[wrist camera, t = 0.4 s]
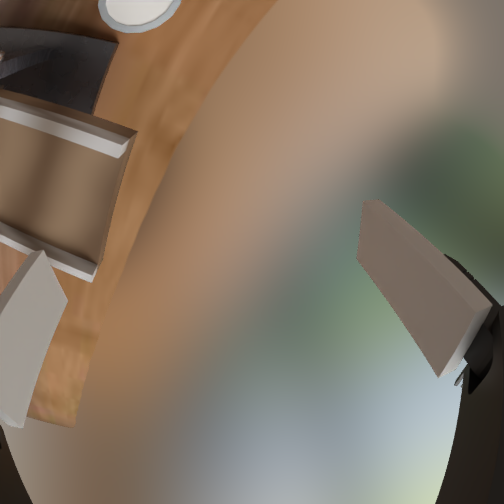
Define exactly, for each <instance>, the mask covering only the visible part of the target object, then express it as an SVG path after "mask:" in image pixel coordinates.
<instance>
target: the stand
mask: <svg viewBox="0 0 504 504" xmlns="http://www.w3.org/2000/svg"><path fill="white" fill-rule="evenodd" d="M118 45H119V43H117V42H113V41H109V40H104V39H99V38H95V37H90V36H84V35H79V34H73V33H67V32H60V31H52V30H44V29H34V28H21V27H0V84H2V85H4V88H3V89H4V90H8V91H12V92H16V93H20V94H23V95H27V96H31V97H34V98H38V99H41V100H45V101H48V102H52V103H55V104H58V105H62V106H65V107H68V108H71V109H75V110H78V111H81V112H84V113H87V114H90V115H93V114H94V111H95V107H96V104H97V101H98V98H99V95H100V92H101V89H102V86H103V83H104V80H105V78H106V75H107V72H108V70H109V67H110V64H111V62H112V59H113V57H114V54H115V52H116V50H117V47H118Z"/></svg>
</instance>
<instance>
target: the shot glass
mask: <svg viewBox="0 0 504 504" xmlns="http://www.w3.org/2000/svg"><path fill="white" fill-rule="evenodd" d="M180 4H181V0H99V4H98V8H99V11H100V14H101V17H102V19H103V20H104V21H105V22H106V23H107V24H108V25H109V26H110V27H111V28H112V29H115V30H118V31H121V32H124V33H142V32H145V31H147V30H150V29H153V28H156V27H158V26H160V25H161V24H162V23H164V22H165V21H166V20H168V19H169V18H170V17H172V15H173V14H174V12H175V11H176V9H177V8H178V6H179V5H180Z"/></svg>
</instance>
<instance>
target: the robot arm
mask: <svg viewBox="0 0 504 504" xmlns="http://www.w3.org/2000/svg"><path fill="white" fill-rule="evenodd" d="M357 260H358V262H359V263H360V264H361V265H362V267H363V268H364V270H365V271H366V272H367V274H368V275H369V276H370V278H371V279H372V280H373V282H374V283H375V284H376V286H377V287H378V288H379V290H380V291H381V293H382V294H383V295H384V297H385V298H386V299H387V301H388V302H389V304H390V305H391V307H392V308H393V309H394V311H395V312H396V314H397V315H398V317H399V318H400V320H401V321H402V323H403V324H404V325H405V327H406V328H407V330H408V331H409V333H410V334H411V336H412V337H413V339H414V340H415V342H416V343H417V345H418V346H419V348H420V349H421V351H422V353H423V354H424V356H425V357H426V359H427V361H428V362H429V364H430V365H431V367H432V369H433V370H434V372H435V374H436V375H437V377H438V378H439V377H441V376H443V375H446V374H448V373H450V372H452V371H454V370H455V369H456V368H457V366H458V365H459V363H460V362H461V360H462V359H463V357H464V359H465V360H466V361H467V363H468V364H467V365H466V367H465V368H464V370H463V371H462V372H461V374H460V375H459V377H458V378H457V380H456V382H455V384H454V385H455V386H457V385H458V384H459V383H460V381H461V380H462V379H463V384H462V386H461V387H462V394H461V402H460V408H459V415H458V420H457V426H456V431H455V436H454V441H453V445H452V450H451V454H450V458H449V461H448V465H447V469H446V472H445V476H444V479H443V482H442V486H441V489H440V492H439V495H438V498H437V500H436V503H435V504H504V306H501V305H499V303H498V302H497V301H496V300H495V299H494V298H493V297H492V296H491V295H490V294H489V293H488V292H487V291H486V290H485V288H484V287H483V286H482V285H481V284H480V283H479V282H478V281H477V280H476V279H475V280H474V277H473V276H472V275H471V274H470V273H469V272H467V270H466V269H465V268H464V267H463V266H462V265H461V264H460V263H459V262H458V261H456V260H454V259H453V258H451V257H449V256H447V255H446V254H442V253H441V252H440V251H439V250H438V249H437V248H436V247H435V246H433V245H432V244H431V243H430V242H429V241H428V240H427V239H426V238H425V237H424V236H422V235H421V234H420V233H419V232H418V231H417V230H416V229H414V228H413V227H412V226H411V225H410V224H408V223H407V222H406V221H405V220H404V219H403V218H401V217H400V216H399V215H398V214H397V213H395V212H394V211H393V210H392V209H390V208H389V207H388V206H387V205H385V204H384V203H383V202H382V201H380V200H379V199H378V200H366V201H363V205H362V216H361V226H360V234H359V244H358V252H357ZM67 302H68V300H67V298H66V296H65V294H64V292H63V290H62V288H61V286H60V284H59V282H58V280H57V278H56V276H55V274H54V272H53V269H52V267H51V265H50V263H49V261H48V258H47V256H46V254H45V252H44V250H40V251H35V252H31V253H30V255H29V256H28V257H27V258H26V260H25V261H24V262H23V264H22V265H21V267H20V268H19V269H18V271H17V272H16V273H15V275H14V276H13V278H12V279H11V281H10V282H9V283H8V285H7V286H6V288H5V289H4V291H3V292H2V294H1V295H0V418H1V419H2V420H3V421H4V422H6V423H7V424H8V425H9V426H13V427H17V428H21V429H23V427H24V422H25V419H26V415H27V411H28V408H29V404H30V401H31V397H32V394H33V391H34V387H35V384H36V381H37V378H38V375H39V372H40V369H41V366H42V363H43V361H44V358H45V355H46V353H47V350H48V347H49V345H50V342H51V340H52V337H53V335H54V332H55V330H56V327H57V325H58V323H59V320H60V318H61V316H62V313H63V311H64V309H65V307H66V304H67ZM0 504H33V503H32V501H31V499H30V497H29V495H28V493H27V491H26V489H25V487H24V485H23V482H22V480H21V478H20V475H19V473H18V471H17V468H16V466H15V463H14V460H13V458H12V455H11V452H10V450H9V447H8V444H7V441H6V438H5V435H4V431H3V429H2V427H1V425H0Z"/></svg>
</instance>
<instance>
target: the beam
mask: <svg viewBox="0 0 504 504" xmlns="http://www.w3.org/2000/svg"><path fill="white" fill-rule="evenodd" d="M3 88H4V85H2V84H0V242H2V243H4V244H6V245H8V246H10V247H12V248H14V249H16V250H18V251H21V252H23V253H25V254H27V255H30V253H31V252H35V251H40V250H44V252H45V254H46V256H47V258H48V261H49V263H50V265H51V266H53V267H55V268H58V269H60V270H62V271H64V272H67V273H69V274H71V275H74V276H76V277H79V278H81V279H83V280H86V281H88V282H91V283H92V281H93V278H94V276H95V274H96V272H97V270H98V268H99V266H100V264H101V262H102V260H103V256H104V251H105V246H106V241H107V237H108V232H109V228H110V223H111V219H112V215H113V211H114V207H115V203H116V200H117V196H118V192H119V189H120V185H121V182H122V178H123V175H124V172H125V168H126V165H127V162H128V159H129V156H130V153H131V150H132V147H133V144H134V141H135V138H136V135H137V133H138V131H135V130H133V129H130V128H127V127H124V126H122V125H119V124H116V123H113V122H110V121H108V120H105V119H102V118H99V117H96V116H93V115H90V114H87V113H84V112H81V111H78V110H75V109H71V108H68V107H65V106H62V105H58V104H55V103H52V102H48V101H45V100H41V99H38V98H34V97H31V96H27V95H23V94H20V93H16V92H12V91H8V90H4V89H3Z"/></svg>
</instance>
